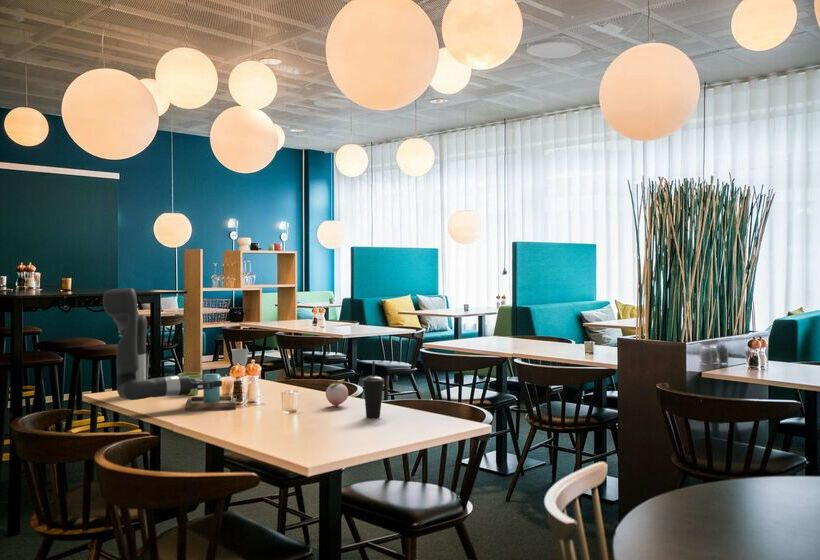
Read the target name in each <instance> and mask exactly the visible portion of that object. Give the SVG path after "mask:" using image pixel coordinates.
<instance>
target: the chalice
mask: <svg viewBox="0 0 820 560" xmlns="http://www.w3.org/2000/svg"><path fill="white" fill-rule="evenodd" d="M230 350H231V352H232V354H231V355H232V356H231V358H232V360H231V361H232V365H233V366H234V365H236V364H237V363H240V364H241V365H242V366H245V367H246V365H247V363H248V351H249V349H248V348H233V349H230Z"/></svg>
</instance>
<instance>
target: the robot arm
mask: <svg viewBox="0 0 820 560" xmlns="http://www.w3.org/2000/svg"><path fill="white" fill-rule="evenodd" d="M102 305H103V309H104V312H106V315H108V316H109V317H111V318H112V320H113V322H114V324H115V325H116V326H117V329H118V332H119V335H120V336H121V338H120V339H119V341H118V343H117V346H116V353H115V354H116V366H117V375H116V389H117V394H118V396H119V397H120V398H121V399H123V400H128V401H136V400H137V401H138V400H144V399H148V398H149V399H150V398H162V397H181V396H187V395H188V394H189V393H190V391H191V389H194V390H198V391H202V390H204V389H213V387H220V388H221V387H222V386H223V381H222V380H220V381H207V380H204V378H202V377H201V378H190V377H189V376H188V375H178V374H177V375H167V376H161V377H153V378H152V377H151V378H149V379H147V333H148V319H147V316H146V315H145V314H139V311H138V296H137V293H136V290H135V289H134V288H133V287H126V288H116V289H115V288H112V289H108V290H106V291H105V292H104V294H103V296H102ZM207 384H209V386H207Z"/></svg>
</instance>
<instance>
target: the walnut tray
mask: <svg viewBox="0 0 820 560" xmlns="http://www.w3.org/2000/svg"><path fill="white" fill-rule="evenodd" d="M231 396H232V395H220V402H219V403H203V396H202V395H200V396H188V397H187V400H186V401H185V402H186V403H185V411H220V410H221V411H223V410H236V409H237V408H236V407H237V397H236V398H234V397H233V402H232V401H231Z"/></svg>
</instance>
